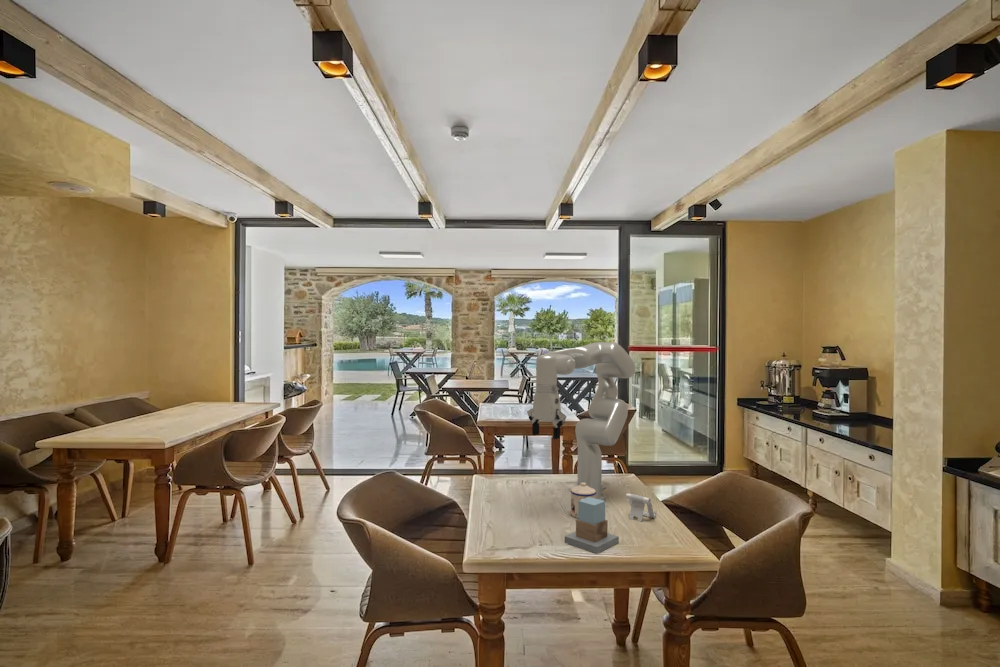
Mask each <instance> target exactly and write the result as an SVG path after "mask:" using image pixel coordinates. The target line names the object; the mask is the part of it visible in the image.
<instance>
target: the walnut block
mask: <svg viewBox="0 0 1000 667" xmlns="http://www.w3.org/2000/svg"><path fill="white" fill-rule="evenodd" d="M575 531H576V536H577V537H580V538H583V539H586V540H589V541H592V542H597V541H599V540H601V539H603V538H605V537H607V533H608V519H605V521H602V522H600V523H598V524H596V525H593V524H589V523H586V522H583V521H579V520H578V519H576V520H575Z"/></svg>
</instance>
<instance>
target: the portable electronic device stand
mask: <svg viewBox="0 0 1000 667" xmlns="http://www.w3.org/2000/svg"><path fill="white" fill-rule="evenodd" d="M625 499H626V500H629V503H630V511H629V518H628V519H629V520H633V519H634V517H636V518H637V522H640V523H642V521H643V517H648V518H651V519H656V518H657V516H658V514H657V511H654V508H653V504H652V500H651V497H648V496H647V497H646V496H642V495H638V494H635V493H629V492H627V493H626V494H625ZM645 506H646V507H647V511H645ZM633 521H634V520H633Z"/></svg>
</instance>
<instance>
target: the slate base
mask: <svg viewBox="0 0 1000 667" xmlns="http://www.w3.org/2000/svg"><path fill="white" fill-rule="evenodd" d="M619 538H620V537H619V535H616V534H612V533H609V532H607V537H605V538H603V539H601V540H599V541H597V542H592V541H589V540H586V539H583V538H580V537H577V536H576V530H575V531H573V532H570V533H569V534H567V535H565V536H564V544H568V545H571V546H573V547H577V548H579V549H582V550H585V551H588V552H591V553H594V554H596V555H598V554H599V553H601V552H604V551H605V550H607V549H610V548H612V547H613V546H615V545H618V544H619V540H620V539H619Z"/></svg>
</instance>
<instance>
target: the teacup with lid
mask: <svg viewBox="0 0 1000 667" xmlns="http://www.w3.org/2000/svg"><path fill="white" fill-rule="evenodd" d="M570 493H571V494H570V498H571V500H570V515H571V516H572V517H574V518H577V519H578V501H580V500H582V499H585V498H588V497H591V498H595V494H596V491H595V489H593V488H590V487H589V486H587V485H586V483H584V482H582V483H581V485H579V486H577V485H576V486H574V487H572V488H571V489H570Z"/></svg>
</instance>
